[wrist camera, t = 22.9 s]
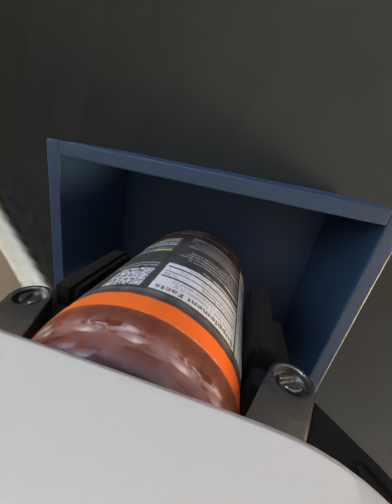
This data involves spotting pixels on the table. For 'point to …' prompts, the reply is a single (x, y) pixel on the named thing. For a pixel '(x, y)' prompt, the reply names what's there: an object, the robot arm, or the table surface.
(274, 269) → the navy bin
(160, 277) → the supplement bottle
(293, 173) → the table surface
